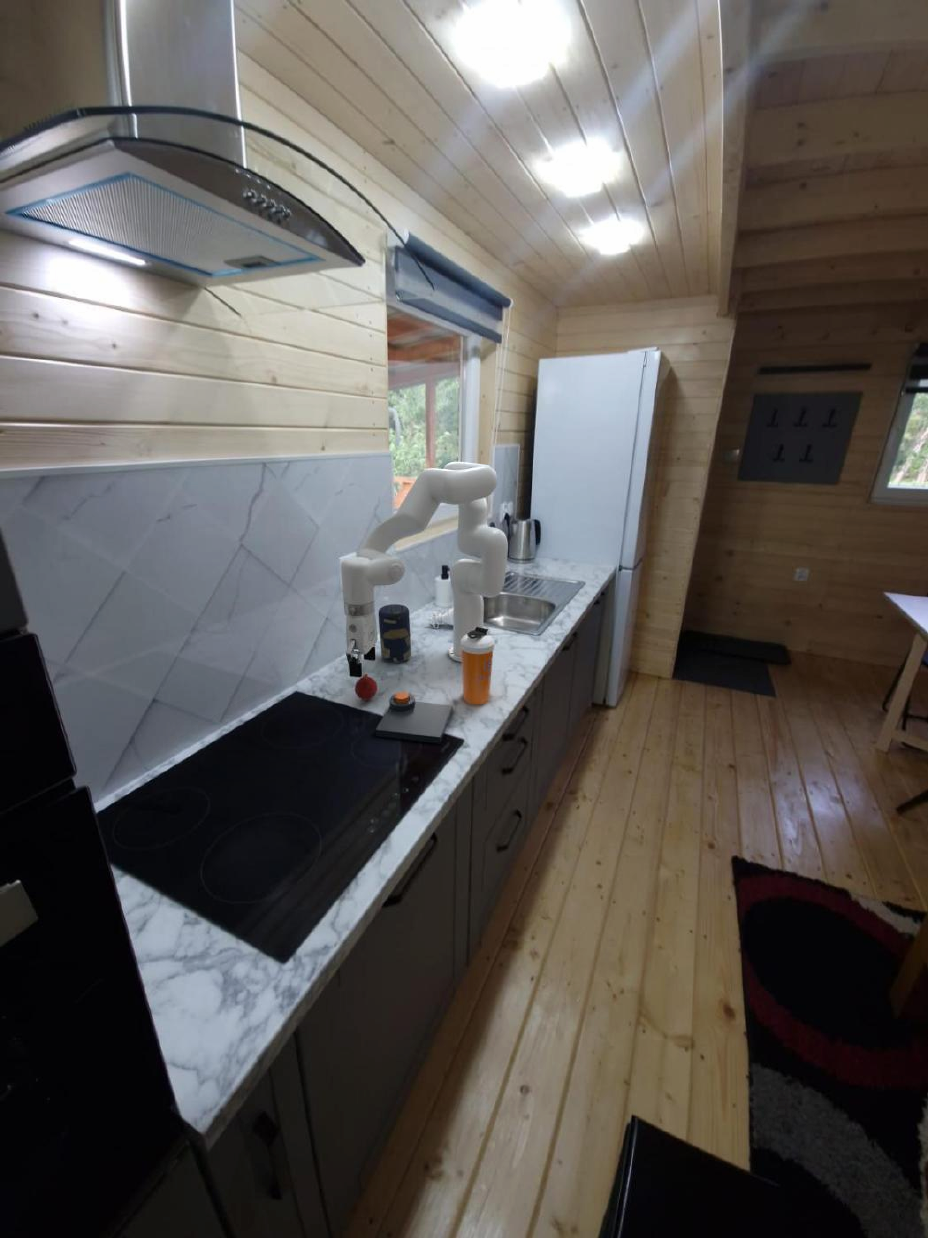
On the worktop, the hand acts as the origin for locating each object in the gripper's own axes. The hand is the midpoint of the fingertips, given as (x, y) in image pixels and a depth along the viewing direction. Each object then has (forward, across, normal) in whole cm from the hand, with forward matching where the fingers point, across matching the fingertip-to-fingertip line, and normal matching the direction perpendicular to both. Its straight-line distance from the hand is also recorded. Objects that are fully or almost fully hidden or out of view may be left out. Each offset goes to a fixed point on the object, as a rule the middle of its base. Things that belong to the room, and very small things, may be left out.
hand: (363, 667), depth 130 cm
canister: (+10, +26, 0) cm, 28 cm away
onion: (+10, 0, 0) cm, 10 cm away
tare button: (+7, -3, -11) cm, 13 cm away
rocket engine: (+9, +57, -13) cm, 59 cm away
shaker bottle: (+10, +8, -29) cm, 32 cm away
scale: (+10, -8, -16) cm, 21 cm away
